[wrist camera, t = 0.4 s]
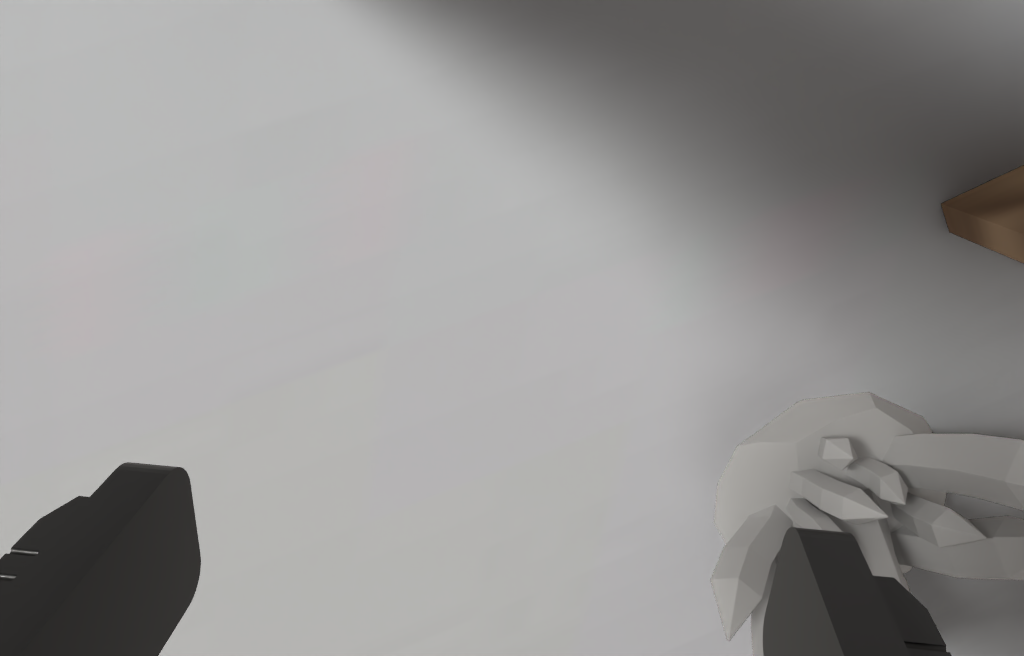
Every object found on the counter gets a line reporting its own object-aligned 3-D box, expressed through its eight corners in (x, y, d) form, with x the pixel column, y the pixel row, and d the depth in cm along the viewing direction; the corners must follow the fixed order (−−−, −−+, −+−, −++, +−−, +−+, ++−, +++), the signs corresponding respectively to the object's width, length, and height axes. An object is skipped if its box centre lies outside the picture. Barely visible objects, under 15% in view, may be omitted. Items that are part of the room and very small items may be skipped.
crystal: (1034, 451, 34) (1438, 752, 19) (799, 647, 37) (1002, 1030, 23) (885, 304, 31) (1227, 529, 17) (646, 529, 34) (767, 877, 20)
